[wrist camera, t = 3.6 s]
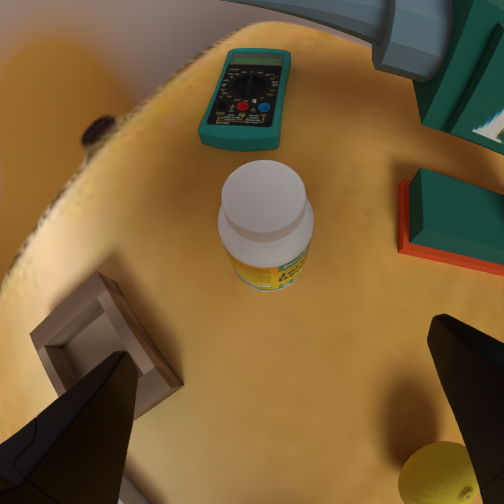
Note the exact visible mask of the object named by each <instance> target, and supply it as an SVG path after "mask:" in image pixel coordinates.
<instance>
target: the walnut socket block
mask: <svg viewBox="0 0 504 504" xmlns="http://www.w3.org/2000/svg"><path fill="white" fill-rule="evenodd" d="M30 336H31V339H32V341H33V344H34V346H35V349H36V351H37V353H38V355H39V358H40V360H41V362H42V364H43V366H44V369H45V371H46V373H47V375H48V377H49V379H50V381H51V383H52V385H53V387H54V389H55V391H56V393H57V395H58V396H59V397H60V396H61V395H62V394H64V393H65V392H66V391H67V390H68V389H69V388H71V387H72V386H73V385H74V384H75V383H77V382H78V381H79V380H80V379H81V378H83V377H84V376H85V375H86V374H87V373H89V372H90V371H91V370H92V369H93V368H95V367H96V366H97V365H98V364H99V363H101V362H102V361H103V360H104V359H105V358H107V357H108V356H109V355H110V354H112V353H113V352H114V351H127V352H129V354H130V356H131V358H132V360H133V362H134V364H135V366H136V368H137V370H138V385H137V393H136V402H135V412H134V420H136V419H137V418H139V417H140V416H142V415H143V414H145V413H146V412H148V411H149V410H150V409H152V408H153V407H155V406H156V405H157V404H159V403H160V402H162V401H163V400H165V399H166V398H167V397H169V396H170V395H171V394H173V393H174V392H176V391H177V390H178V389H180V388H181V387H182V386H184V384H183V383H182V382H181V380H180V379H179V378H178V376H177V375H176V374H175V372H174V371H173V370H172V368H171V367H170V365H169V364H168V363H167V361H166V360H165V358H164V357H163V356H162V354H161V353H160V351H159V350H158V348H157V347H156V346H155V344H154V343H153V341H152V340H151V338H150V337H149V335H148V334H147V332H146V331H145V329H144V328H143V326H142V325H141V323H140V321H139V320H138V318H137V317H136V315H135V314H134V312H133V310H132V309H131V307H130V306H129V304H128V302H127V301H126V299H125V297H124V296H123V294H122V292H121V291H120V289H119V287H118V286H117V284H116V282H115V281H113V280H111V279H110V278H108V277H106V276H104V275H103V274H101V273H99V272H95V273H94V274H93V275H92V276H91V277H90V278H89V279H87V280H86V281H85V282H84V283H83V284H82V285H81V286H80V287H78V288H77V289H76V290H75V291H74V292H73V293H72V294H71V295H70V296H69V297H67V298H66V299H65V300H64V301H63V302H62V303H61V304H60V305H59V306H58V307H57V308H56V309H55V310H54V311H53V312H51V313H50V314H49V315H48V316H47V317H46V318H45V319H44V320H43V321H42V322H41V323H40V324H39V325H38V326H37V327H36V328H35V329H34V330H33V331H32V332H31V333H30ZM134 420H133V421H134Z"/></svg>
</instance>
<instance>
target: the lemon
mask: <svg viewBox="0 0 504 504" xmlns="http://www.w3.org/2000/svg"><path fill="white" fill-rule="evenodd" d="M398 488H399V493H400V496H401V498H402V500H403V502H404V503H405V504H469V503H470V502H471V501H472V500H473V499H474V497H475V496H476V494H477V493H478V491H479V486H478V482H477V479H476V476H475V472H474V469H473V466H472V463H471V460H470V457H469V454H468V451H467V448H466V447H465V446H463V445H461V444H459V443H454V442H448V441H442V442H434V443H431V444H429V445H426V446H424V447H422V448H421V449H419V450H417V451H416V452H415V453H414V454H412V455H411V456H410V457H409V459H408V460H407V461H406V462H405V464H404V466H403V468H402V469H401V472H400V475H399V481H398Z"/></svg>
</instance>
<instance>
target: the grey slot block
mask: <svg viewBox="0 0 504 504" xmlns="http://www.w3.org/2000/svg"><path fill="white" fill-rule="evenodd" d="M118 504H151V503H150V502H149V501H148V500H147V498H146V497H145V496H144V495H143V494H142V493H141V492H140V490H139V489H138V488H137V487H136V486H135V485H134V483H133V482H132V481H131V480H130V479H129V477H128V476H127V475H126V474H125V472H124V471H123V476H122V482H121V488H120V494H119V501H118Z"/></svg>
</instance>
